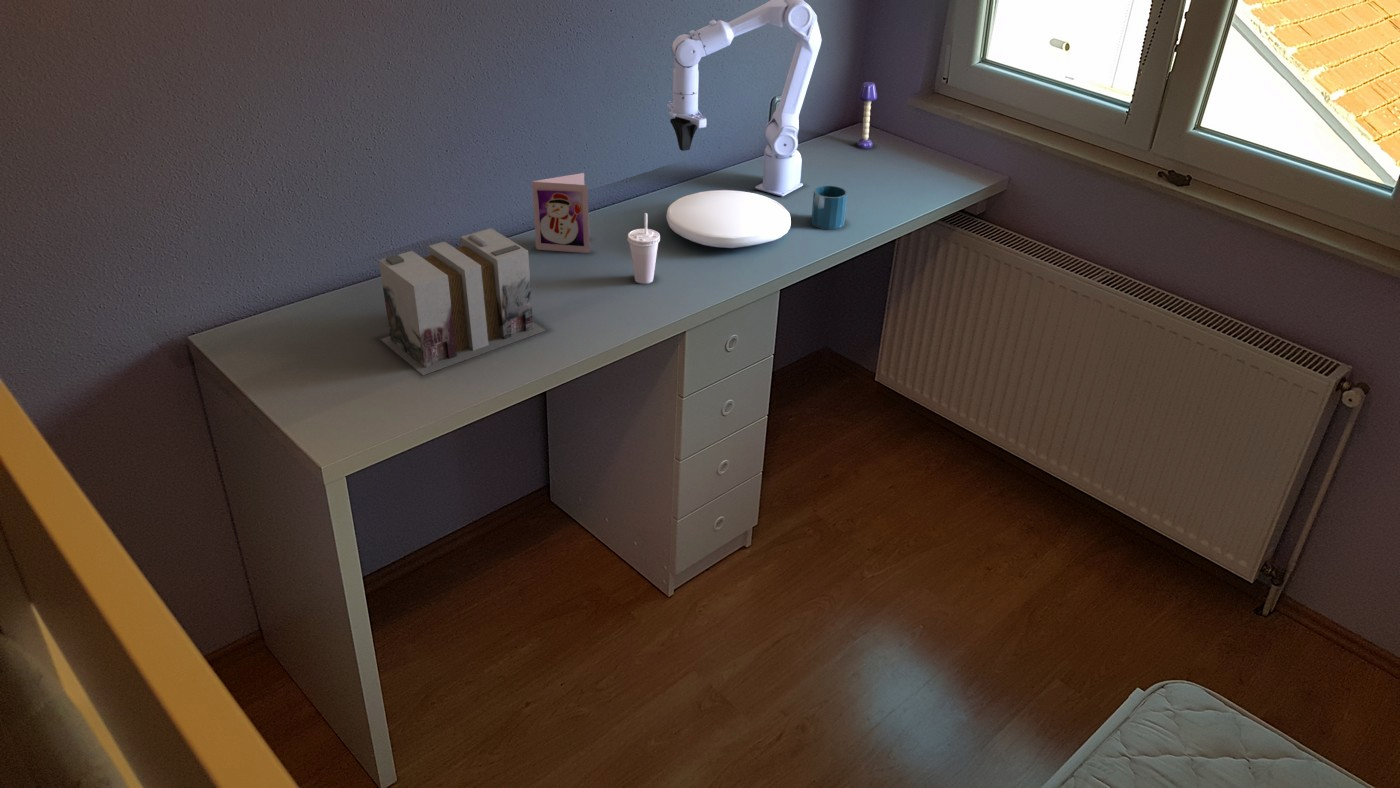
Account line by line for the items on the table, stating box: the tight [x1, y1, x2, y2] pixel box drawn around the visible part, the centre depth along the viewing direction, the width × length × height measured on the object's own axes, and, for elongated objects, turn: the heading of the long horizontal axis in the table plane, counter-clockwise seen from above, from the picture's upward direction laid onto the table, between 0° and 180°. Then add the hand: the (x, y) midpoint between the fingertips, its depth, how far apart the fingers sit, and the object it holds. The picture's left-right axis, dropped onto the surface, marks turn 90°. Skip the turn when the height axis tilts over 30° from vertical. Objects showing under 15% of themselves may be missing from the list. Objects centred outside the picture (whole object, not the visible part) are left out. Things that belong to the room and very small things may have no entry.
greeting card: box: [531, 172, 591, 254], centre depth 223 cm, size 11×7×15 cm, turn 83°
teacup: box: [810, 184, 848, 231], centre depth 238 cm, size 7×7×8 cm
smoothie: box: [627, 212, 661, 285], centre depth 210 cm, size 6×6×14 cm
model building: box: [378, 227, 547, 376], centre depth 189 cm, size 16×25×16 cm, turn 131°
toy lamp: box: [855, 81, 878, 150], centre depth 279 cm, size 5×5×17 cm
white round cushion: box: [666, 189, 792, 249], centre depth 234 cm, size 28×6×27 cm
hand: (684, 149), depth 248 cm, fingers closed
